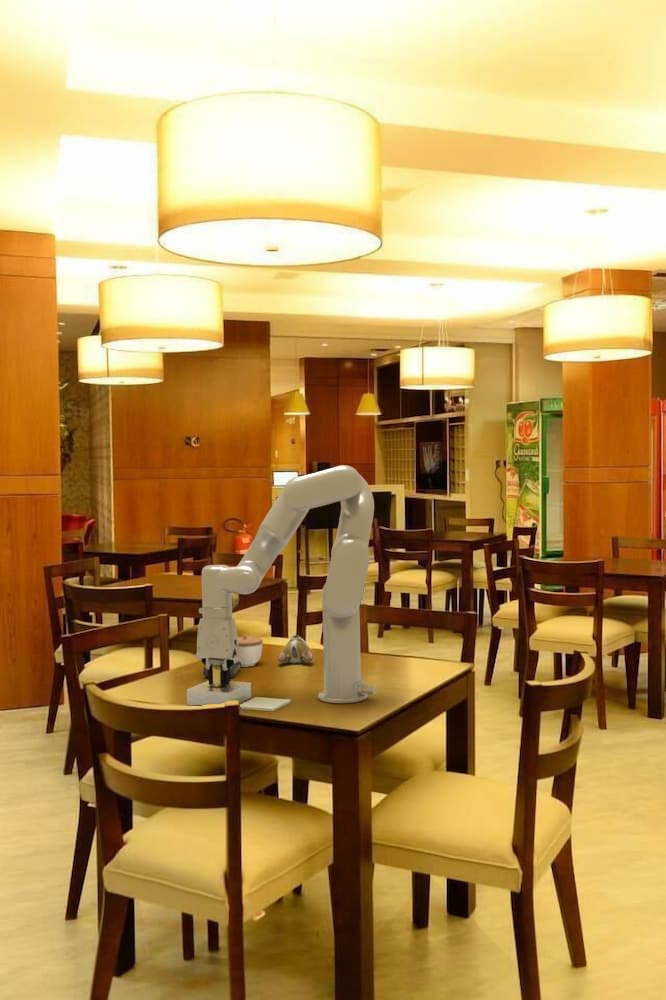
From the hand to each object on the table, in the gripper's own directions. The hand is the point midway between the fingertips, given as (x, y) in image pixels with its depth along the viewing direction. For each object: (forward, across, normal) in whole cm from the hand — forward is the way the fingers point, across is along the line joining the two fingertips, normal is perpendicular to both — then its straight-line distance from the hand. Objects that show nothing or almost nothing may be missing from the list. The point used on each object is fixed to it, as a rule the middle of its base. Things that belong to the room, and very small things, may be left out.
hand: (219, 683), depth 251 cm
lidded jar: (+5, -16, +44) cm, 47 cm away
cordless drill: (+5, -15, +27) cm, 31 cm away
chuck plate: (+5, 0, 0) cm, 5 cm away
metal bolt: (+3, 0, 0) cm, 4 cm away
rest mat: (+5, +13, 0) cm, 14 cm away
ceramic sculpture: (+5, -3, +52) cm, 53 cm away
